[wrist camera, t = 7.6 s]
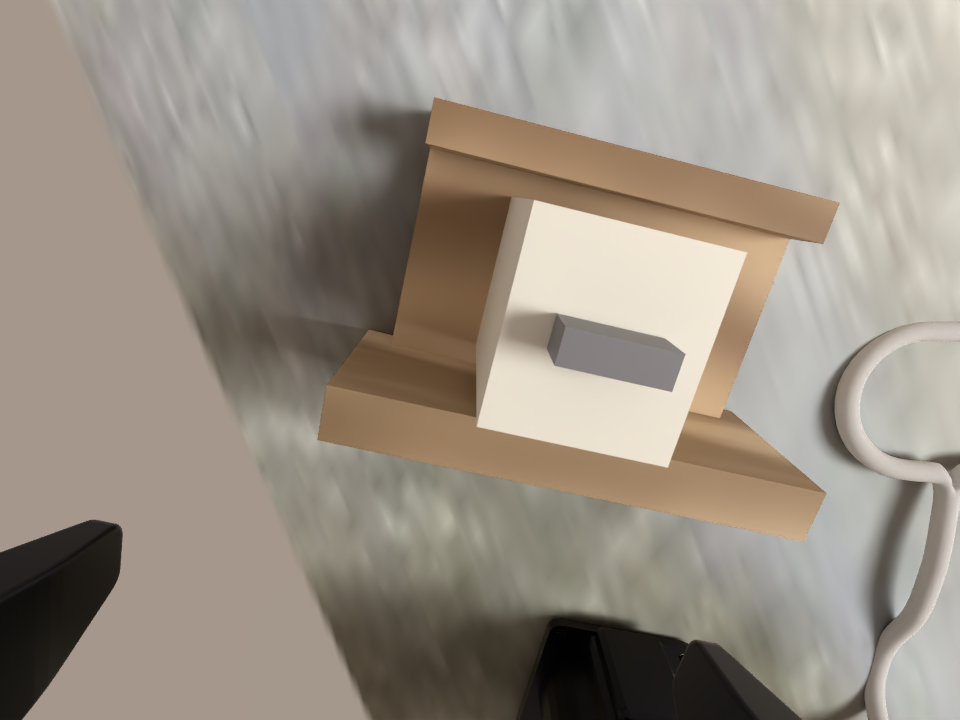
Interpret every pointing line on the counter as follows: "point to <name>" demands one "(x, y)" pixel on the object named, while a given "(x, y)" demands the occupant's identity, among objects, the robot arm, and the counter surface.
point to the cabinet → (598, 331)
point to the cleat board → (463, 294)
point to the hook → (946, 487)
